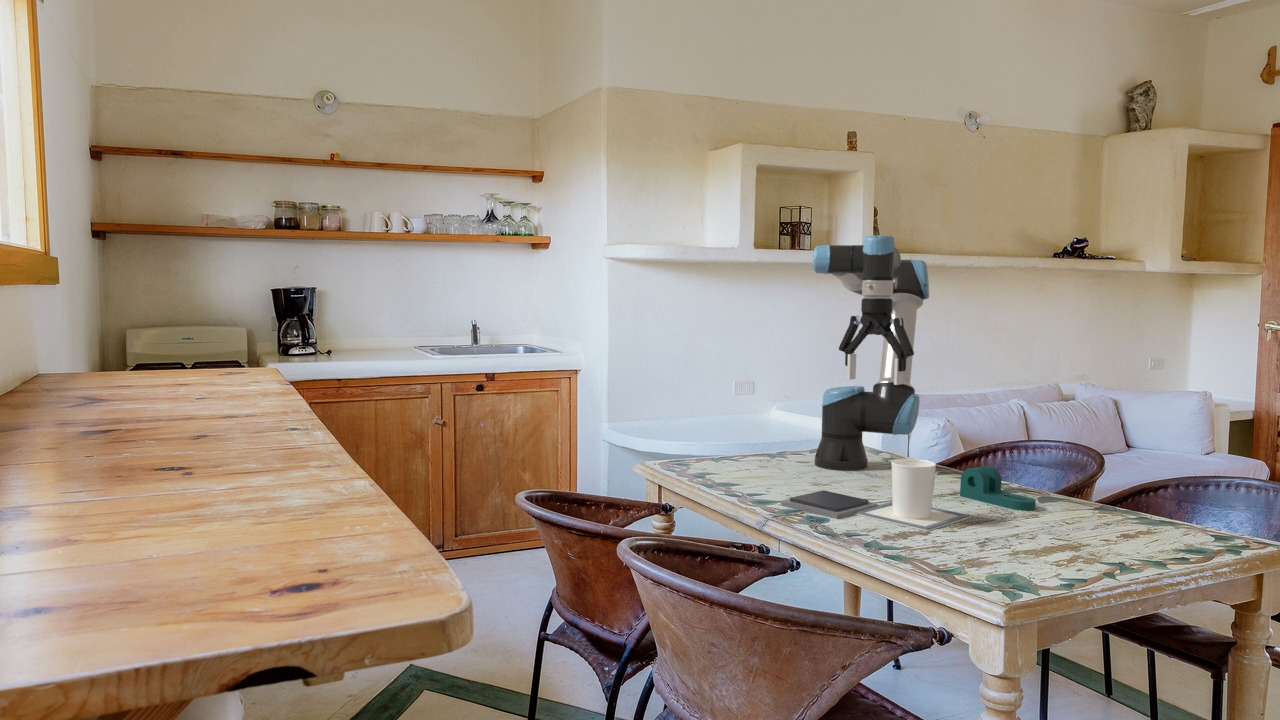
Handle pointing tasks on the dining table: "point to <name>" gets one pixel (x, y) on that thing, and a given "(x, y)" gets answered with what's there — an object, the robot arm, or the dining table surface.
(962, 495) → the bracket
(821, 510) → the ink pad
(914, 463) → the candle holder
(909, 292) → the robot arm
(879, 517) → the marked square
